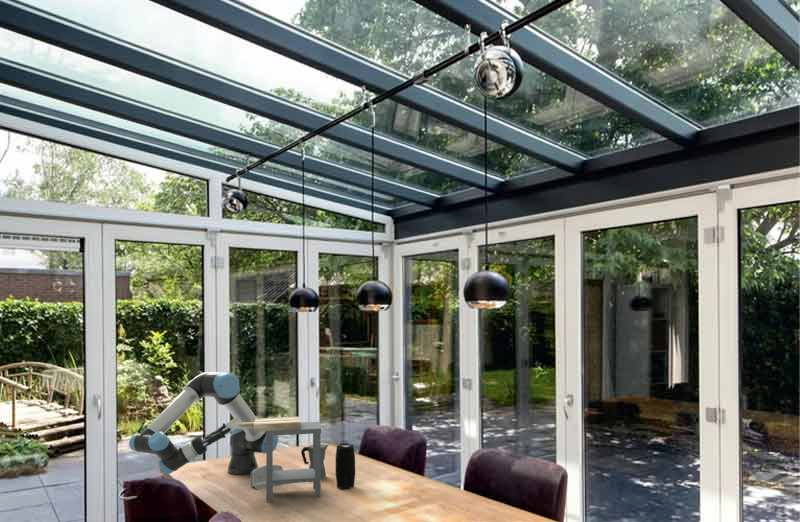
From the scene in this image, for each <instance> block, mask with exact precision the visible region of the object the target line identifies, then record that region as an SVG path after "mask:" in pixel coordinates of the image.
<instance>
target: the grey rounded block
mask: <svg viewBox="0 0 800 522" xmlns="http://www.w3.org/2000/svg"><path fill="white" fill-rule="evenodd" d="M279 470H284V469H283V466H282V465H278V464H273V471H279ZM274 485H275V486H279V485H280V486H281V484H273V487H275V486H274ZM250 487H251V488H254V490H258V488H260V489H264V488H263V487H265V488H266V464H265V465H262V466H258V468H257V469H255V470H253V471H252V472H251V473H250Z"/></svg>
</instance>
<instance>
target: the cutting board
mask: <svg viewBox="0 0 800 522" xmlns="http://www.w3.org/2000/svg"><path fill="white" fill-rule="evenodd" d="M300 423H301V419H300V416H284V417H263V418H262V417H261V418H259V417H257V419H255V422H243V423H237V424H238V426H239V427H238V428H237V429H245V428H254V432H258V431H277V430H297V429H300ZM231 424H232V423H230V424H229V425H231Z"/></svg>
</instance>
